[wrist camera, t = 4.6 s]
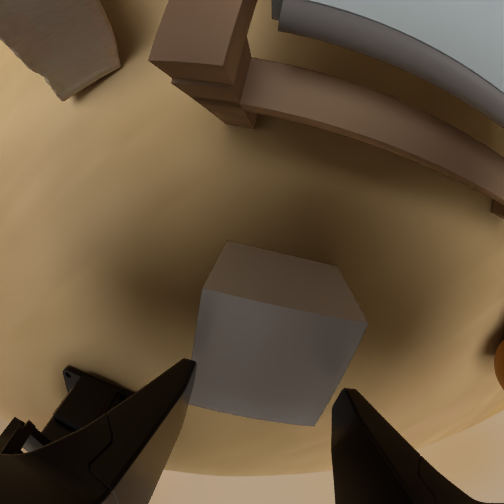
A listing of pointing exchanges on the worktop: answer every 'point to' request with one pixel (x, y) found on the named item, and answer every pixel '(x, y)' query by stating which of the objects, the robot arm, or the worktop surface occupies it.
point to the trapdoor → (416, 40)
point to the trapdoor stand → (306, 95)
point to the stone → (273, 335)
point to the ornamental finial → (500, 363)
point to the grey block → (61, 41)
